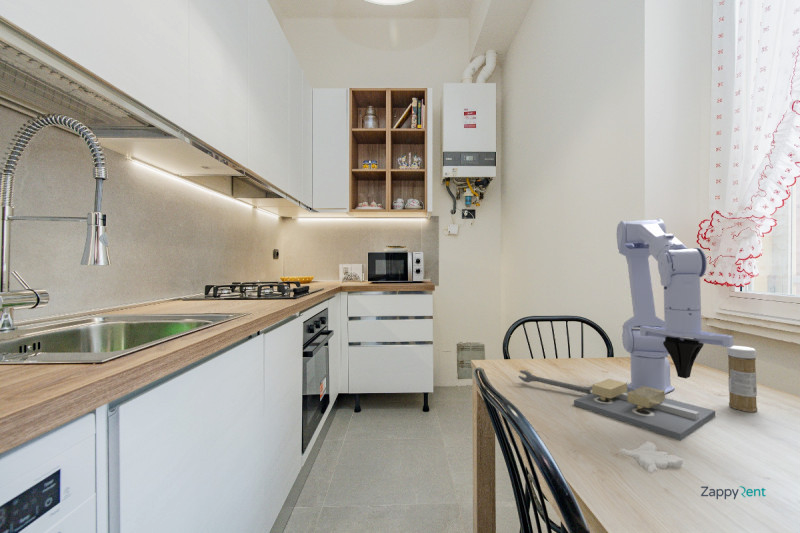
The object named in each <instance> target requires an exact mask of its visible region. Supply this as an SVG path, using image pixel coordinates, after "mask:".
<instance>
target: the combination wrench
mask: <svg viewBox="0 0 800 533" xmlns="http://www.w3.org/2000/svg"><path fill="white" fill-rule="evenodd" d="M518 372H519V373H520V374H522V375H525V376H526V377H524V376H522V375H518V378H519V379H520V380H521V381H523V382H525V383H531V382H537V383H542V384H546V385H550V386H553V387H554V386H555V387H558V388H562V389H565V390H566V389H567V390H569V391H570V390H571V391H575V392H579V393H583V394H585V395H588V394H591V393H592V386H591V385H590V386H581V385H576V384H573V383H567V382H563V381H557V380H553V379H550V378H544V377H540V376H536V375H534V374H532V373H531V372H530V371H528V370H522V369H521V370H519V371H518Z"/></svg>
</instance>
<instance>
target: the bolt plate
mask: <svg viewBox="0 0 800 533" xmlns="http://www.w3.org/2000/svg"><path fill="white" fill-rule="evenodd" d="M591 385H592V390H591V394H585V395H584V396H581V397H578V398H575V399H573V406H576V407H578V408H581V409H584V410H586V411H587V410H588V411H590V412H593V413H596V414H600V415H603V416H606V417H608V418H612V419H615V420H617V421H621V422H623V423H627V424H629V425H632V426H636V427H639V428H642V429H645V430H648V431H651V432H654V433H656V434H660V435H663V436H666V437H668V438H672V439H675V440H678V441H682V440H684V439H685V438H686V437H688V436H690V435H691V434H693V433H694V432H695V431H696V430H698V429H700V427H702V426H704V425H705V424H707V423H708V422H709V421H711V420H712V419H714V418H715V417H716V410H714V409H710V408H706V407H702V406H698V405H694V404H690V403H687V402H682V401H680V400H679V401H678V400H674V399H670V398H667V397H665V400H664V401H662V402H660V403H659V404H657V405H655V406H653V407H651V408H647V407H643V410H642V411H641V410H637V405H636V404H632V403H629V402H628V396H627V393H628V392H630V391H633V390H632V389H628V388H627V385H628V383H627V382H623V381H620V380H614V379H611V378H608V379H604V380H602V381H599V382H596V383H594V384H591Z"/></svg>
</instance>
